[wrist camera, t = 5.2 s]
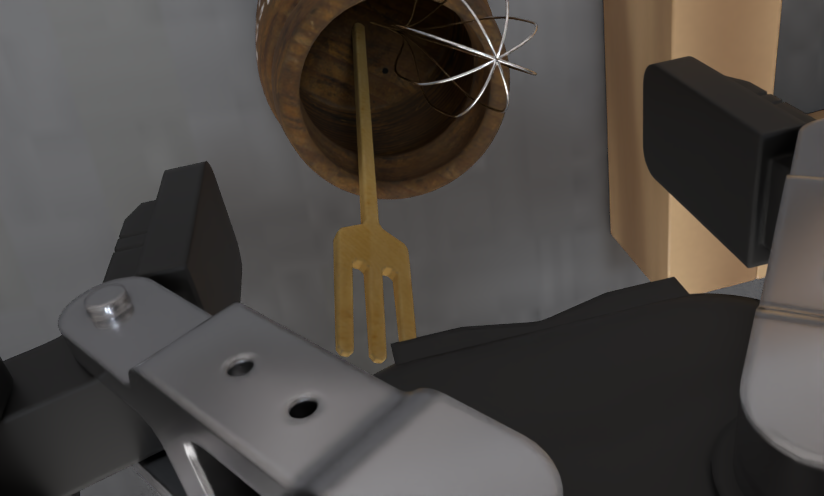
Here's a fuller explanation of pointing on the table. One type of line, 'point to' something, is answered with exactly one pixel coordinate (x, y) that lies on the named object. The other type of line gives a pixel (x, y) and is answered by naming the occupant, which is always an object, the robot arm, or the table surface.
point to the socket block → (628, 174)
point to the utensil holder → (383, 118)
